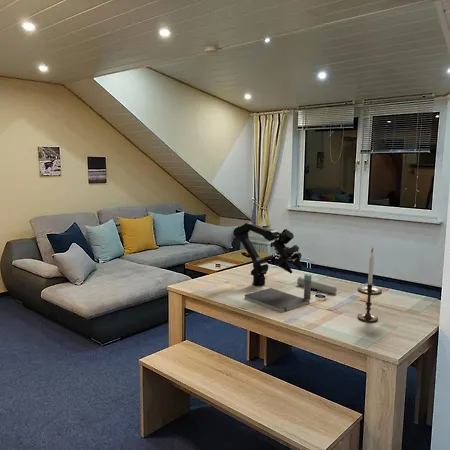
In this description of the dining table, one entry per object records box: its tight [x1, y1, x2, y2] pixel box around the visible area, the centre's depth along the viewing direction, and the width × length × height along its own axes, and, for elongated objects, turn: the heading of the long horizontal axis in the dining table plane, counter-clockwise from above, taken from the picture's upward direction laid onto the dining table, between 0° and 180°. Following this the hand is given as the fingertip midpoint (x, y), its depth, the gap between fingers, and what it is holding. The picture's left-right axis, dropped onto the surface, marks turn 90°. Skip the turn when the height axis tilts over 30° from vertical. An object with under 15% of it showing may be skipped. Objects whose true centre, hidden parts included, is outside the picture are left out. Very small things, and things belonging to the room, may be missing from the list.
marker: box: [303, 273, 312, 300], centre depth 228 cm, size 4×4×13 cm
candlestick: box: [356, 247, 383, 323], centre depth 197 cm, size 11×11×35 cm
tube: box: [296, 276, 338, 295], centre depth 245 cm, size 5×5×25 cm
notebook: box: [243, 287, 311, 313], centre depth 224 cm, size 22×2×28 cm
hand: (296, 271), depth 232 cm, fingers open, 9 cm apart
